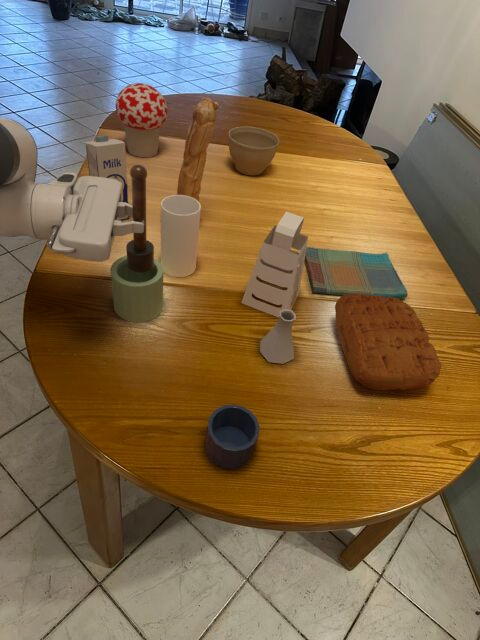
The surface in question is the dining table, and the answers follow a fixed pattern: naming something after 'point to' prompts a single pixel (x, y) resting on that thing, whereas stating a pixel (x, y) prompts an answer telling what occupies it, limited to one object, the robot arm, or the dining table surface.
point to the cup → (179, 234)
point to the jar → (137, 291)
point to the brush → (140, 248)
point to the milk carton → (108, 161)
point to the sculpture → (196, 148)
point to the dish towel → (352, 273)
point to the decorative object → (141, 117)
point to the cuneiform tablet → (385, 343)
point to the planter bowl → (252, 149)
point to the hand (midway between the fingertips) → (144, 220)
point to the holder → (231, 436)
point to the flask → (279, 339)
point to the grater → (278, 266)
